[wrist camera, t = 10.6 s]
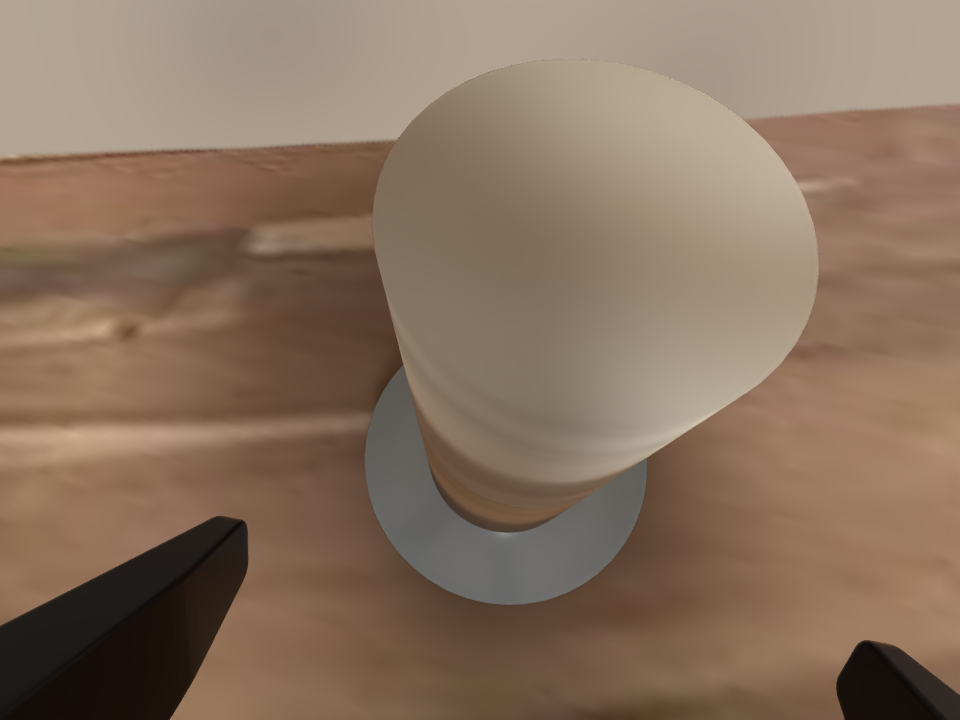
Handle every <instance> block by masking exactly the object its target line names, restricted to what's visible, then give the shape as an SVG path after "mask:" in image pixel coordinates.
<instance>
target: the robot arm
mask: <svg viewBox="0 0 960 720" xmlns="http://www.w3.org/2000/svg"><path fill="white" fill-rule="evenodd" d="M247 568H248V530H247V525H246V523H245V521H243V520H241V519H236V518H231V517H225V516H216V517H214V518H211V519H209V520H207V521H205V522H203V523H201V524H200V525H198V526H196V527H194V528H192V529H190V530H188V531H186V532H184V533H182V534H180V535H178V536H176V537H174V538H172V539H170V540H168V541H166V542H164V543H162V544H160V545H158V546H156V547H154V548H152V549H150V550H148V551H146V552H144V553H143V554H141V555H139V556H137V557H135V558H133V559H131V560H129V561H127V562H125V563H123V564H121V565H119V566H117V567H115V568H113V569H111V570H109V571H107V572H105V573H103V574H101V575H99V576H97V577H95V578H93V579H91V580H89V581H88V582H86V583H84V584H82V585H80V586H78V587H76V588H74V589H72V590H70V591H68V592H66V593H64V594H62V595H60V596H58V597H56V598H54V599H52V600H50V601H48V602H46V603H44V604H42V605H40V606H38V607H36V608H34V609H33V610H31V611H29V612H27V613H25V614H23V615H21V616H19V617H17V618H15V619H13V620H11V621H9V622H7V623H5V624H3V625H1V626H0V720H170V718H171V717H172V715H173V713H174V712H175V710H176V709H177V707H178V705H179V704H180V702H181V701H182V699H183V697H184V695H185V694H186V692H187V690H188V689H189V687H190V685H191V684H192V682H193V680H194V678H195V676H196V674H197V672H198V670H199V668H200V667H201V665H202V663H203V661H204V659H205V657H206V655H207V653H208V651H209V649H210V647H211V645H212V643H213V641H214V638H215V636H216V634H217V632H218V630H219V628H220V626H221V624H222V622H223V620H224V618H225V616H226V614H227V612H228V610H229V608H230V606H231V604H232V602H233V600H234V598H235V596H236V594H237V592H238V590H239V588H240V586H241V584H242V582H243V580H244V578H245V575H246V572H247ZM836 690H837V696H838V700H839V703H840V706H841V709H842V712H843V715H844V719H845V720H960V695H959V694H958V693H956V692H955V691H954V690H952V689H951V688H950V687H949V686H947V685H946V684H945V683H943V682H942V681H941V680H940V679H938V678H937V677H936V676H934V675H933V674H932V673H931V672H929V671H928V670H927V669H926V668H924V667H923V666H922V665H920V664H919V663H918V662H917V661H915V660H914V659H913V658H911V657H910V656H909V655H908V654H906V653H905V652H904V651H902V650H901V649H900V648H898V647H896V646H894V645H891V644H886V643H881V642H875V641H870V640H864V641H862V642H860V643H858V644H857V646H856V647H855V649H854V651H853V652H852V654H851V656H850V657H849V659H848V661H847V662H846V664H845V666H844V667H843V669H842V671H841V672H840V674H839V676H838V678H837V683H836Z"/></svg>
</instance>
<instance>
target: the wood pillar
mask: <svg viewBox="0 0 960 720" xmlns="http://www.w3.org/2000/svg"><path fill="white" fill-rule="evenodd" d="M372 231H373V240H374V249H375V254H376V258H377V262H378V266H379V270H380V274H381V278H382V282H383V286H384V290H385V294H386V298H387V301H388V305H389V309H390V313H391V317H392V321H393V325H394V329H395V333H396V337H397V341H398V345H399V349H400V353H401V357H402V361H403V364H404V368H405V372H406V376H407V380H408V384H409V388H410V392H411V396H412V400H413V404H414V408H415V412H416V416H417V420H418V424H419V428H420V431H421V435H422V439H423V443H424V447H425V451H426V455H427V459H428V463H429V467H430V471H431V474H432V478H433V481H434V483H435V486H436V488H437V490H438V491H439V493H440V495H441V497H442V498H443V499H444V501H445V502H446V503H447V505H448V506H449V507H450V508H451V509H452V510H453V511H454V512H455V513H456V514H458V515H459V516H460V517H462V518H463V519H464V520H466V521H468V522H469V523H471V524H473V525H475V526H478V527H480V528H483V529H486V530H490V531H494V532H502V533H515V532H522V531H527V530H530V529H533V528H537V527H539V526H541V525H543V524H545V523H547V522H548V521H550V520H551V519H553V518H555V517H556V516H558V515H559V514H561V513H562V512H564V511H565V510H567V509H568V508H570V507H571V506H573V505H575V504H576V503H578V502H579V501H581V500H582V499H584V498H585V497H587V496H588V495H590V494H591V493H593V492H595V491H596V490H598V489H599V488H601V487H602V486H604V485H605V484H607V483H608V482H610V481H611V480H613V479H615V478H616V477H618V476H619V475H621V474H622V473H624V472H625V471H627V470H628V469H630V468H631V467H633V466H635V465H636V464H638V463H639V462H641V461H642V460H644V459H645V458H647V457H648V456H650V455H651V454H653V453H655V452H656V451H658V450H659V449H661V448H662V447H664V446H665V445H667V444H668V443H670V442H672V441H673V440H675V439H676V438H678V437H679V436H681V435H682V434H684V433H685V432H687V431H688V430H690V429H692V428H693V427H695V426H696V425H698V424H699V423H701V422H702V421H704V420H705V419H707V418H708V417H710V416H712V415H713V414H715V413H716V412H718V411H719V410H721V409H722V408H724V407H725V406H727V405H728V404H730V403H732V402H733V401H735V400H736V399H738V398H739V397H741V396H742V395H744V394H745V393H747V392H748V391H749V390H751V389H752V388H754V387H755V386H757V385H758V384H760V383H761V382H762V381H763V380H764V379H765V378H766V377H767V376H768V375H769V374H770V373H772V372H773V371H774V370H775V369H776V368H777V367H778V366H779V365H780V364H781V363H782V361H783V360H784V359H785V357H786V356H787V355H788V353H789V352H790V351H791V349H792V348H793V347H794V345H795V344H796V343H797V341H798V339H799V337H800V335H801V333H802V331H803V329H804V327H805V325H806V323H807V321H808V319H809V316H810V312H811V309H812V306H813V303H814V299H815V296H816V288H817V281H818V273H819V268H818V246H817V241H816V235H815V230H814V225H813V222H812V219H811V216H810V213H809V210H808V207H807V204H806V201H805V199H804V197H803V195H802V193H801V191H800V189H799V187H798V185H797V183H796V181H795V179H794V178H793V176H792V175H791V173H790V172H789V170H788V169H787V167H786V166H785V164H784V163H783V162H782V160H781V159H780V157H779V156H778V155H777V154H776V153H775V152H774V150H773V149H772V148H771V147H770V146H769V145H768V143H767V142H766V141H765V140H764V139H763V138H762V137H761V136H760V135H759V134H758V133H757V132H756V131H755V130H754V129H752V128H751V127H750V126H749V125H748V124H747V123H746V122H745V121H743V120H742V119H741V118H739V117H738V116H737V115H735V114H734V113H733V112H732V111H730V110H729V109H728V108H726V107H725V106H723V105H722V104H720V103H718V102H717V101H715V100H713V99H712V98H710V97H709V96H707V95H706V94H704V93H702V92H700V91H698V90H696V89H693V88H692V87H689V86H688V85H686V84H684V83H682V82H679V81H676V80H674V79H671V78H669V77H666V76H663V75H661V74H658V73H655V72H651V71H648V70H644V69H641V68H637V67H634V66H629V65H624V64H618V63H612V62H607V61H597V60H587V59H554V60H542V61H533V62H528V63H522V64H517V65H511V66H508V67H505V68H501V69H498V70H494V71H491V72H488V73H485V74H483V75H481V76H478V77H476V78H474V79H471V80H468V81H467V82H465V83H463V84H461V85H459V86H457V87H456V88H454V89H452V90H450V91H448V92H447V93H445V94H444V95H442V96H441V97H440V98H438V99H437V100H435V101H434V102H433V103H432V104H430V105H429V106H428V107H427V108H426V109H424V110H423V111H422V112H421V113H420V114H419V115H418V116H417V117H416V118H415V119H414V120H413V121H412V122H411V123H410V124H409V126H408V127H407V128H406V129H405V131H404V132H403V133H402V134H401V136H400V137H399V138H398V140H397V141H396V143H395V145H394V146H393V148H392V150H391V152H390V153H389V155H388V157H387V159H386V161H385V164H384V166H383V169H382V171H381V174H380V176H379V179H378V183H377V188H376V192H375V197H374V201H373V217H372Z"/></svg>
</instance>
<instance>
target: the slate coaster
mask: <svg viewBox="0 0 960 720" xmlns="http://www.w3.org/2000/svg"><path fill="white" fill-rule="evenodd" d="M365 473H366V483H367V487H368V492H369V496H370V501H371V503H372V506H373V509H374V511H375V514H376V517H377V519H378V521H379V523H380V525H381V527H382V529H383V530H384V532H385V534H386V536H387V538H388V539H389V540H390V542H391V543H392V544H393V546H394V547H395V549H396V550H397V551H398V553H399V554H400V555H401V556H402V557H403V558H404V559H405V560H406V561H407V562H408V563H409V564H410V565H411V566H412V567H413V568H414V569H415V570H417V571H418V572H419V573H420V574H422V575H423V576H424V577H426V578H427V579H428V580H430V581H431V582H433V583H435V584H437V585H438V586H440V587H442V588H443V589H445V590H447V591H450V592H452V593H454V594H457V595H459V596H462V597H464V598H468V599H472V600H476V601H480V602H484V603H491V604H501V605H517V604H529V603H535V602H540V601H545V600H548V599H551V598H554V597H557V596H560V595H563V594H566V593H567V592H569V591H571V590H573V589H575V588H577V587H579V586H581V585H583V584H584V583H586V582H587V581H588V580H590V579H591V578H593V577H594V576H595V575H597V574H598V573H599V572H600V571H601V570H602V569H603V568H604V567H605V566H606V565H608V564H609V563H610V562H611V561H612V560H613V559H614V557H615V556H616V555H617V553H618V552H619V551H620V549H621V548H622V547H623V545H624V544H625V543H626V541H627V539H628V537H629V535H630V534H631V532H632V530H633V528H634V526H635V524H636V521H637V519H638V516H639V514H640V511H641V508H642V504H643V499H644V495H645V491H646V481H647V458H645V459H644V460H642V461H641V462H639V463H638V464H636V465H635V466H633V467H631V468H630V469H628V470H627V471H625V472H624V473H622V474H621V475H619V476H618V477H616V478H615V479H613V480H611V481H610V482H608V483H607V484H605V485H604V486H602V487H601V488H599V489H598V490H596V491H595V492H593V493H591V494H590V495H588V496H587V497H585V498H584V499H582V500H581V501H579V502H578V503H576V504H575V505H573V506H571V507H570V508H568V509H567V510H565V511H564V512H562V513H561V514H559V515H558V516H556V517H555V518H553V519H551V520H550V521H548V522H547V523H545V524H543V525H541V526H539V527H537V528H533V529H530V530H527V531H522V532H515V533H502V532H494V531H490V530H486V529H483V528H480V527H478V526H475V525H473V524H471V523H469V522H468V521H466V520H464V519H463V518H462V517H460V516H459V515H458V514H456V513H455V512H454V511H453V510H452V509H451V508H450V507H449V506H448V505H447V503H446V502H445V501H444V499H443V498H442V497H441V495H440V493H439V491H438V490H437V488H436V486H435V483H434V481H433V478H432V474H431V471H430V467H429V463H428V459H427V455H426V451H425V447H424V443H423V439H422V435H421V431H420V428H419V424H418V420H417V416H416V412H415V408H414V404H413V400H412V396H411V392H410V388H409V384H408V380H407V376H406V372H405V368H404V364H403V365H402V366H401V368H400V369H399V370H398V371H397V372H396V374H395V375H394V376H393V377H392V378H391V380H390V381H389V383H388V385H387V386H386V388H385V389H384V391H383V392H382V394H381V396H380V398H379V400H378V403H377V405H376V407H375V409H374V412H373V415H372V418H371V421H370V424H369V428H368V434H367V439H366V445H365Z"/></svg>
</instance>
